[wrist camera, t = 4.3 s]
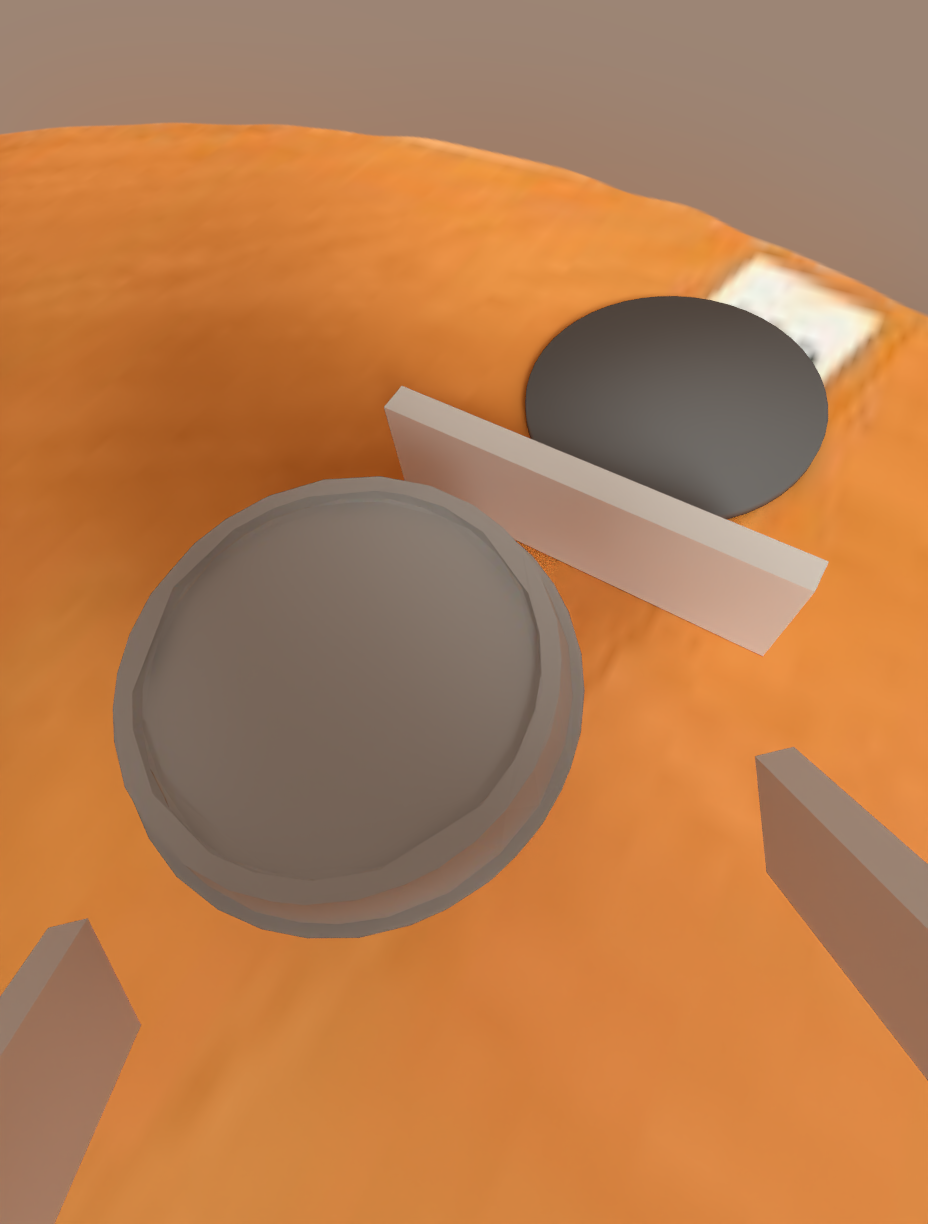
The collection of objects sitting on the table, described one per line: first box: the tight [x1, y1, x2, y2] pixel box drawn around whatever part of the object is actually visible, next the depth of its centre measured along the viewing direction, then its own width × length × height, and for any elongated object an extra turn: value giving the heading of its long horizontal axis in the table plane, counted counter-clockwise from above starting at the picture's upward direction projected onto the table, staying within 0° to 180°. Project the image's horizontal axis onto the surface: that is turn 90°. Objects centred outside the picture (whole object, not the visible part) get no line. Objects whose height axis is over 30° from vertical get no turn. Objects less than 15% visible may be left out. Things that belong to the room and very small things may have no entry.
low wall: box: [384, 386, 828, 656], centre depth 24 cm, size 16×1×5 cm, turn 58°
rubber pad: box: [526, 296, 828, 519], centre depth 29 cm, size 13×13×1 cm
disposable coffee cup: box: [113, 476, 584, 938], centre depth 18 cm, size 10×10×12 cm
